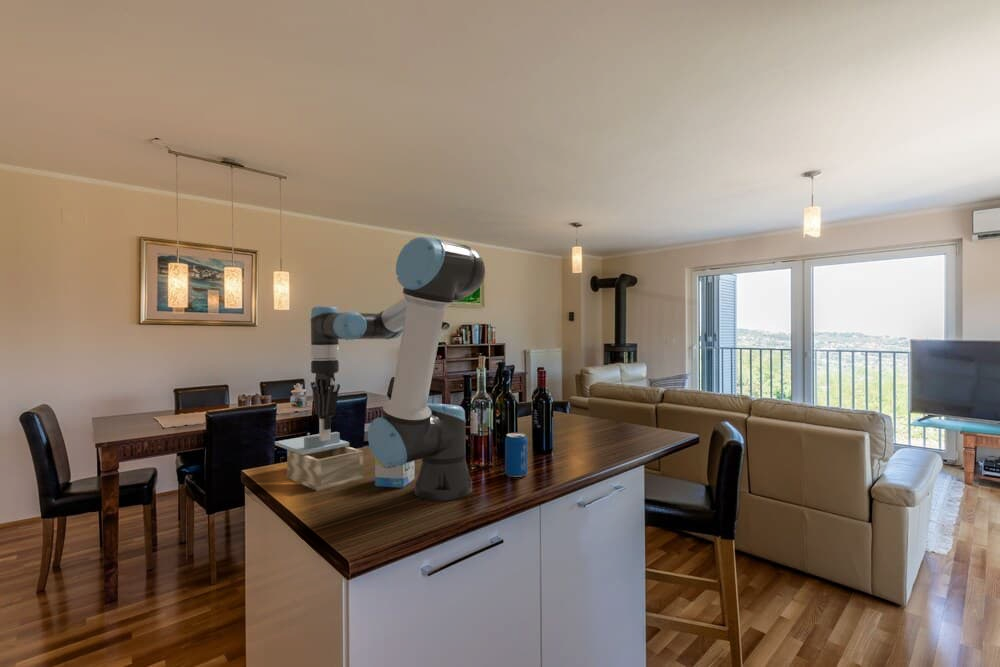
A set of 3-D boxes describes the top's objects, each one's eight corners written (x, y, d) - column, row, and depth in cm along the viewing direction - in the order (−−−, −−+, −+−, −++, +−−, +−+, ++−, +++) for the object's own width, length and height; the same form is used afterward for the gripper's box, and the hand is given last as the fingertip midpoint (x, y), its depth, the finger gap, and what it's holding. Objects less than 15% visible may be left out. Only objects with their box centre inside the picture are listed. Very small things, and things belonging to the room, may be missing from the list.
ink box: (403, 488, 124) (403, 445, 124) (374, 486, 125) (374, 444, 125) (415, 478, 132) (415, 438, 132) (388, 477, 134) (387, 437, 134)
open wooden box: (363, 478, 132) (363, 450, 132) (316, 490, 122) (316, 461, 122) (332, 467, 144) (332, 441, 144) (287, 477, 134) (287, 450, 134)
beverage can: (515, 480, 130) (515, 438, 130) (500, 475, 135) (500, 434, 135) (531, 475, 134) (531, 434, 134) (516, 470, 139) (516, 431, 139)
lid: (349, 445, 138) (349, 432, 138) (302, 455, 127) (302, 440, 127) (319, 436, 150) (319, 424, 150) (274, 444, 139) (274, 431, 139)
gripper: (348, 359, 132) (348, 441, 132) (326, 358, 140) (326, 434, 140) (323, 360, 126) (323, 446, 126) (302, 359, 135) (302, 439, 135)
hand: (325, 440), depth 133 cm, fingers closed
